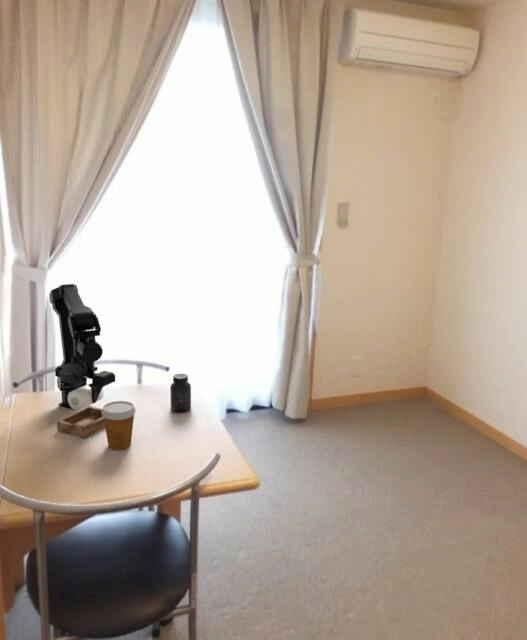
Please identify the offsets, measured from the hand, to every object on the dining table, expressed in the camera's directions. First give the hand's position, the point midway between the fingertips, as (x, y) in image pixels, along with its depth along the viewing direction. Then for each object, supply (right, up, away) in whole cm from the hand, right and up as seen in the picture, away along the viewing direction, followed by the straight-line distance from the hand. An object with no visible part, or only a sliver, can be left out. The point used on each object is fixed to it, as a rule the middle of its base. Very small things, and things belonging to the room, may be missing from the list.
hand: (86, 400), depth 171 cm
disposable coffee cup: (+13, -12, -10) cm, 20 cm away
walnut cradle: (0, -8, +2) cm, 8 cm away
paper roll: (0, +2, 0) cm, 2 cm away
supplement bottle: (+26, -6, +17) cm, 32 cm away
